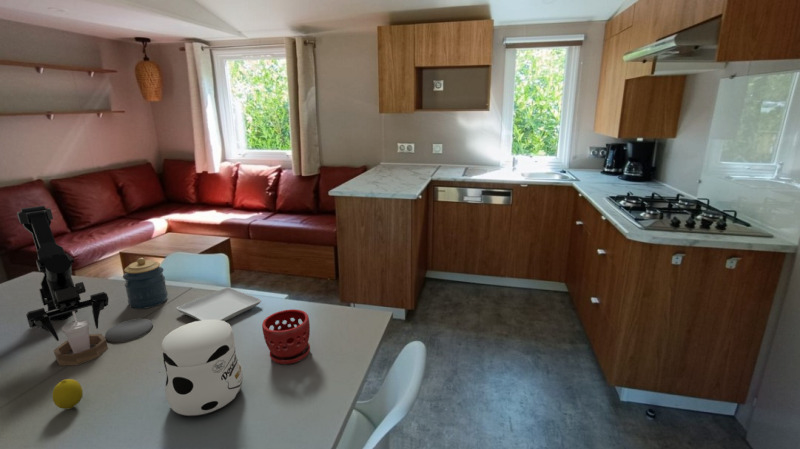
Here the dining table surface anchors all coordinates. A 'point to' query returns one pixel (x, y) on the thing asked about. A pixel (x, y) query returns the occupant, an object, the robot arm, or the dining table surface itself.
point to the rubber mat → (128, 330)
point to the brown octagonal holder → (82, 356)
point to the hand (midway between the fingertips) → (78, 334)
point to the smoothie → (77, 334)
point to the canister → (145, 284)
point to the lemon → (67, 393)
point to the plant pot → (287, 336)
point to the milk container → (201, 367)
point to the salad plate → (219, 305)
